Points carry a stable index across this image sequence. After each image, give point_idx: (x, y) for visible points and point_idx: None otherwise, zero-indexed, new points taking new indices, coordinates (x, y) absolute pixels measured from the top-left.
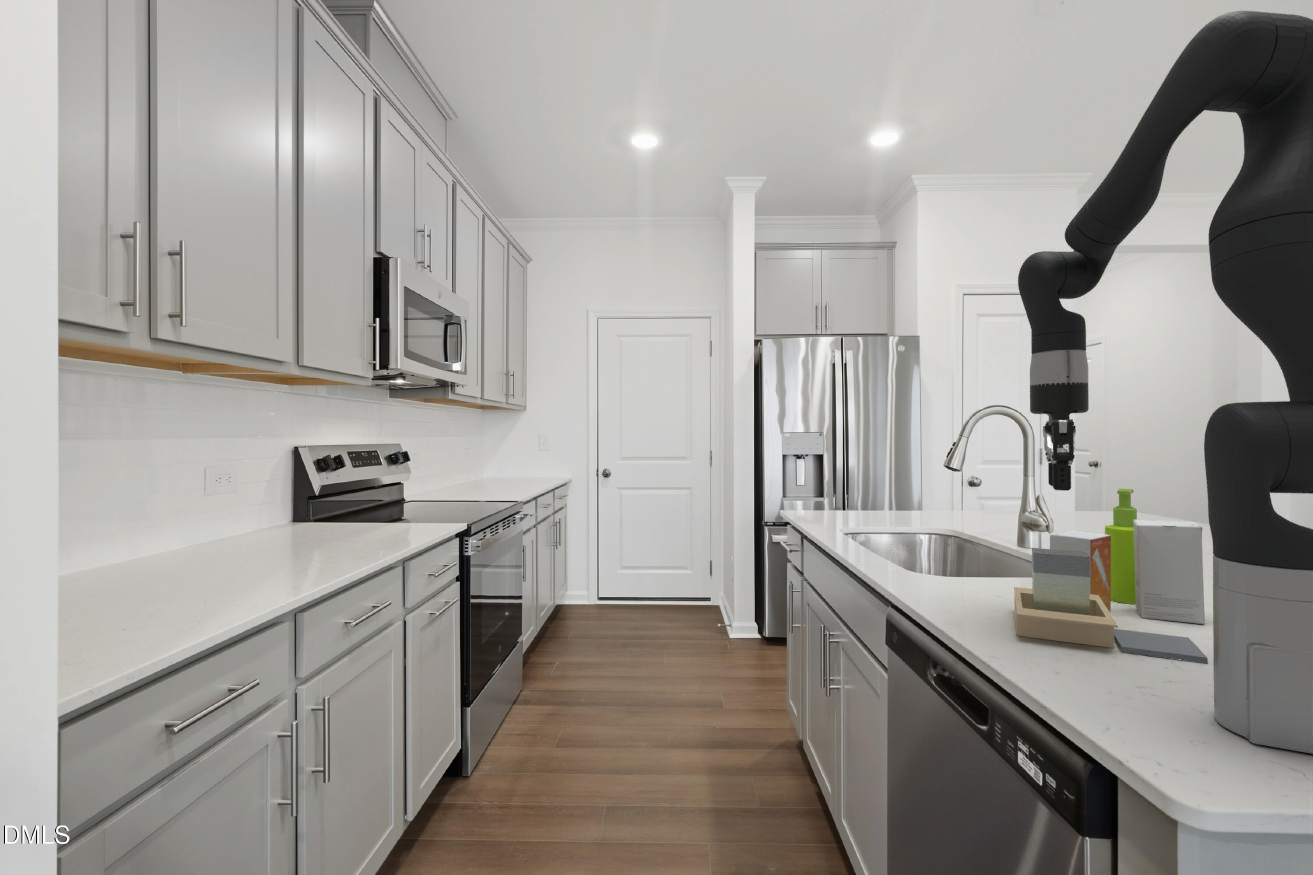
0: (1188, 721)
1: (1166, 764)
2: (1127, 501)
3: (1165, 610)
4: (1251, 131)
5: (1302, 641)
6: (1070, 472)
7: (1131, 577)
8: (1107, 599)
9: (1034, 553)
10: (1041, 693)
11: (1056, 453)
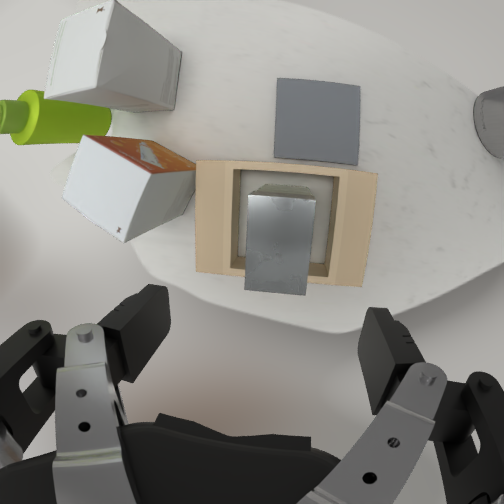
0: (500, 176)
1: None
2: None
3: (172, 82)
4: None
5: None
6: (404, 343)
7: (89, 112)
8: (153, 144)
9: (305, 293)
10: (480, 269)
11: (470, 438)
